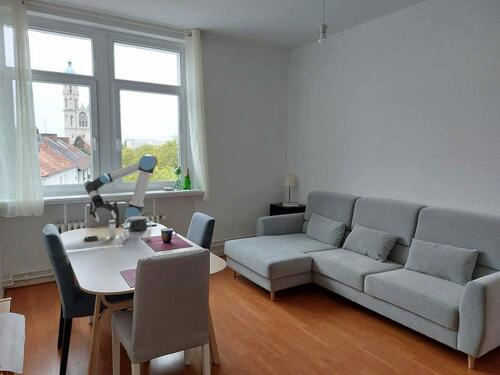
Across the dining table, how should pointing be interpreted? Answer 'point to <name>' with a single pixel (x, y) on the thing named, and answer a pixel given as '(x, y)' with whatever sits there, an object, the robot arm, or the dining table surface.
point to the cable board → (95, 238)
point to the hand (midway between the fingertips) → (106, 219)
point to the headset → (126, 231)
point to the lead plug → (112, 228)
